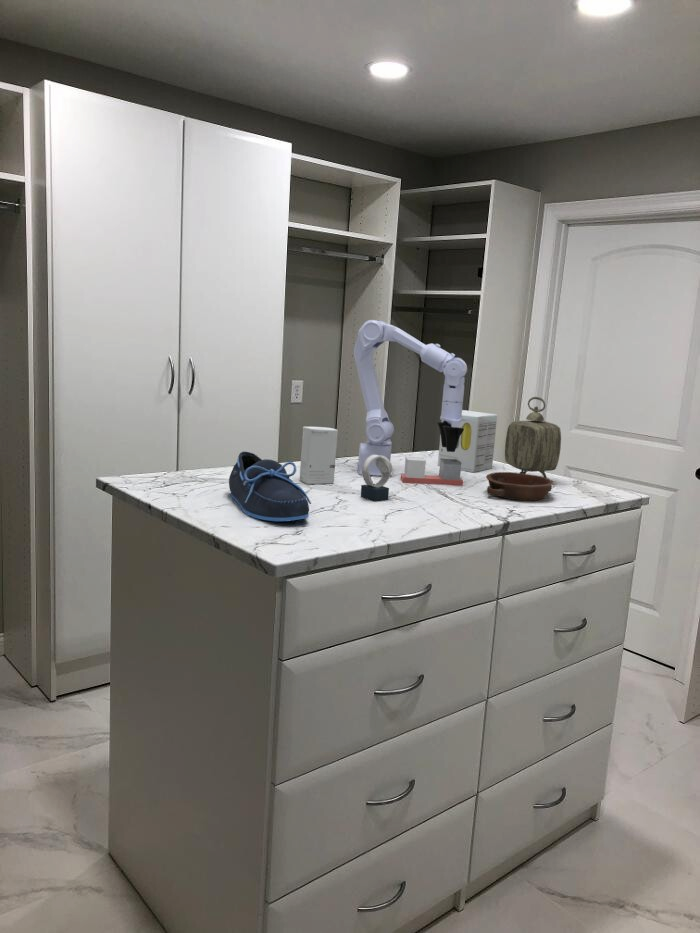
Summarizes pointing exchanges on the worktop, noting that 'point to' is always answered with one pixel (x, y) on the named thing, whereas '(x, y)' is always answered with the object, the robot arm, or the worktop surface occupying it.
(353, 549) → the worktop surface
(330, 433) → the skincare box
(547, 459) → the tabletop clock
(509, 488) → the dish
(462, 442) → the supplement box
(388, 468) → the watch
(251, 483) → the moccasin
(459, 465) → the grey cube
